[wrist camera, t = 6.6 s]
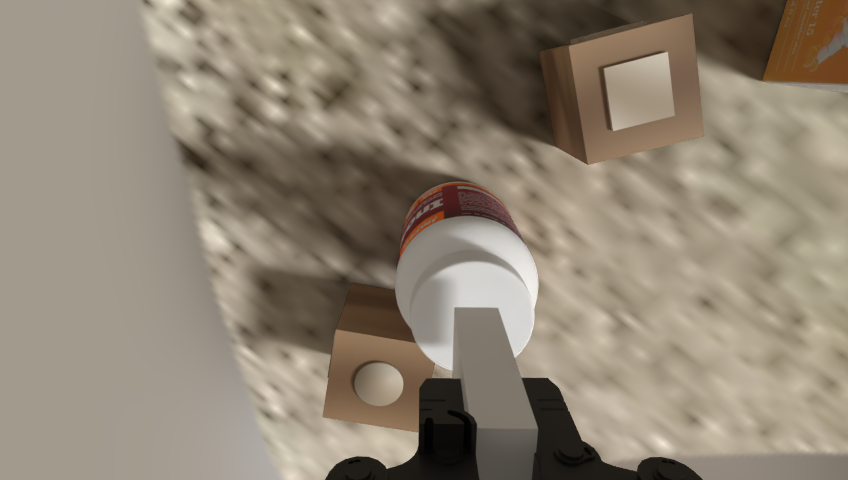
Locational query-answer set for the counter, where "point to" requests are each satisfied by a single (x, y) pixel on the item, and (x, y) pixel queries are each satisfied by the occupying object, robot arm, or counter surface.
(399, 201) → the counter surface
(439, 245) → the pill bottle
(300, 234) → the counter surface
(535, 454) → the robot arm
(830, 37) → the small box
